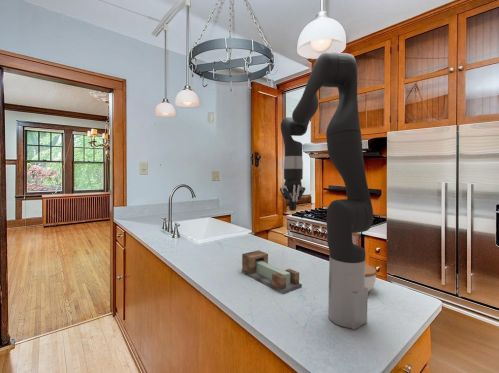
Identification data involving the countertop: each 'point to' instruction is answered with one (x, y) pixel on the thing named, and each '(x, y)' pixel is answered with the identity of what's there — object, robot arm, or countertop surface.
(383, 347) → the countertop surface
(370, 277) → the lidded jar
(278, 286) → the holder
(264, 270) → the slat
